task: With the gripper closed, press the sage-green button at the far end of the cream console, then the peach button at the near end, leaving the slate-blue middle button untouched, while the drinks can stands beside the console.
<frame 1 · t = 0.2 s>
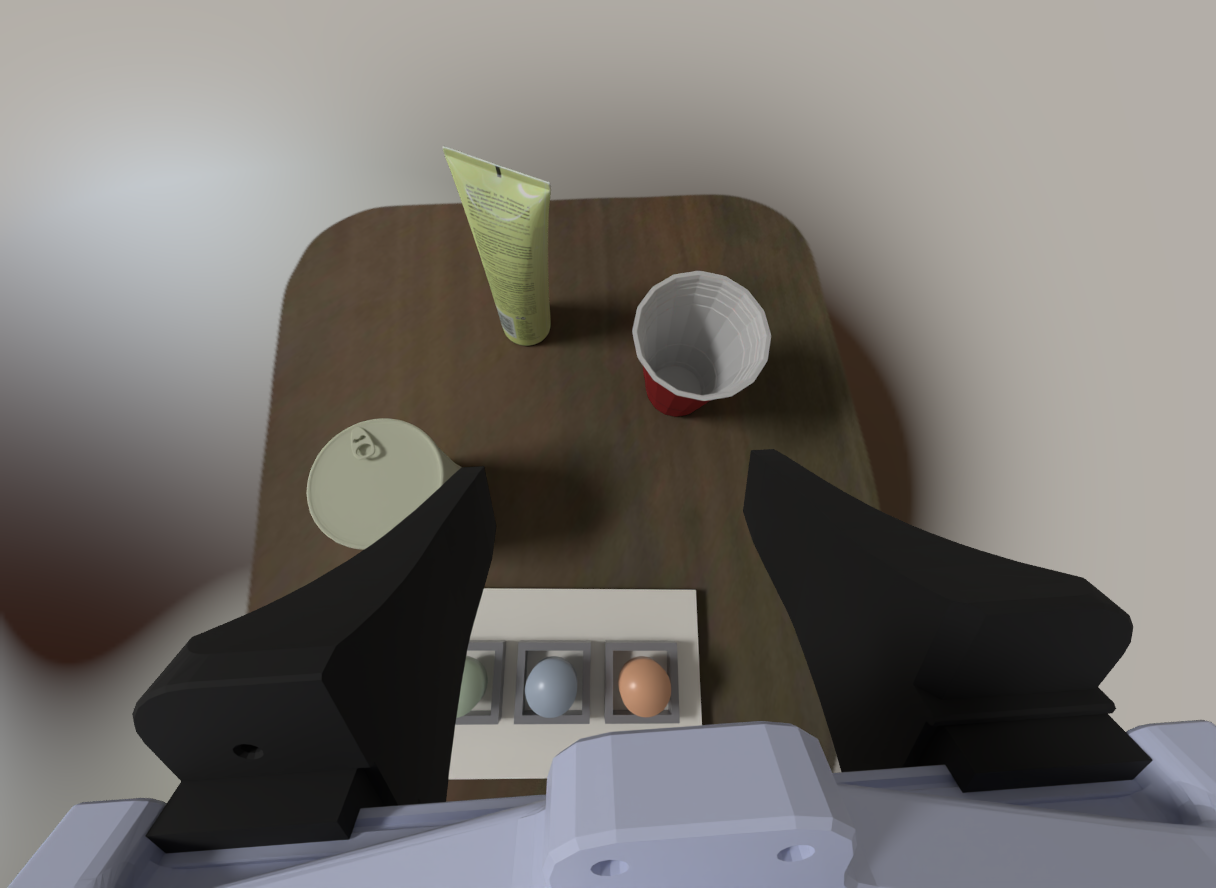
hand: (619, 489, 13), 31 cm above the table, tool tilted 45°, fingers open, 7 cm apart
peach button: (643, 685, 36), point 4 cm above the table, slide at 0.0 cm
sage button: (459, 685, 35), point 4 cm above the table, slide at 0.0 cm
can: (430, 508, 43), on the table
slate button: (552, 685, 36), point 4 cm above the table, slide at 0.0 cm
plastic cup: (674, 393, 47), on the table
console: (555, 676, 39), on the table
tube: (529, 327, 49), on the table
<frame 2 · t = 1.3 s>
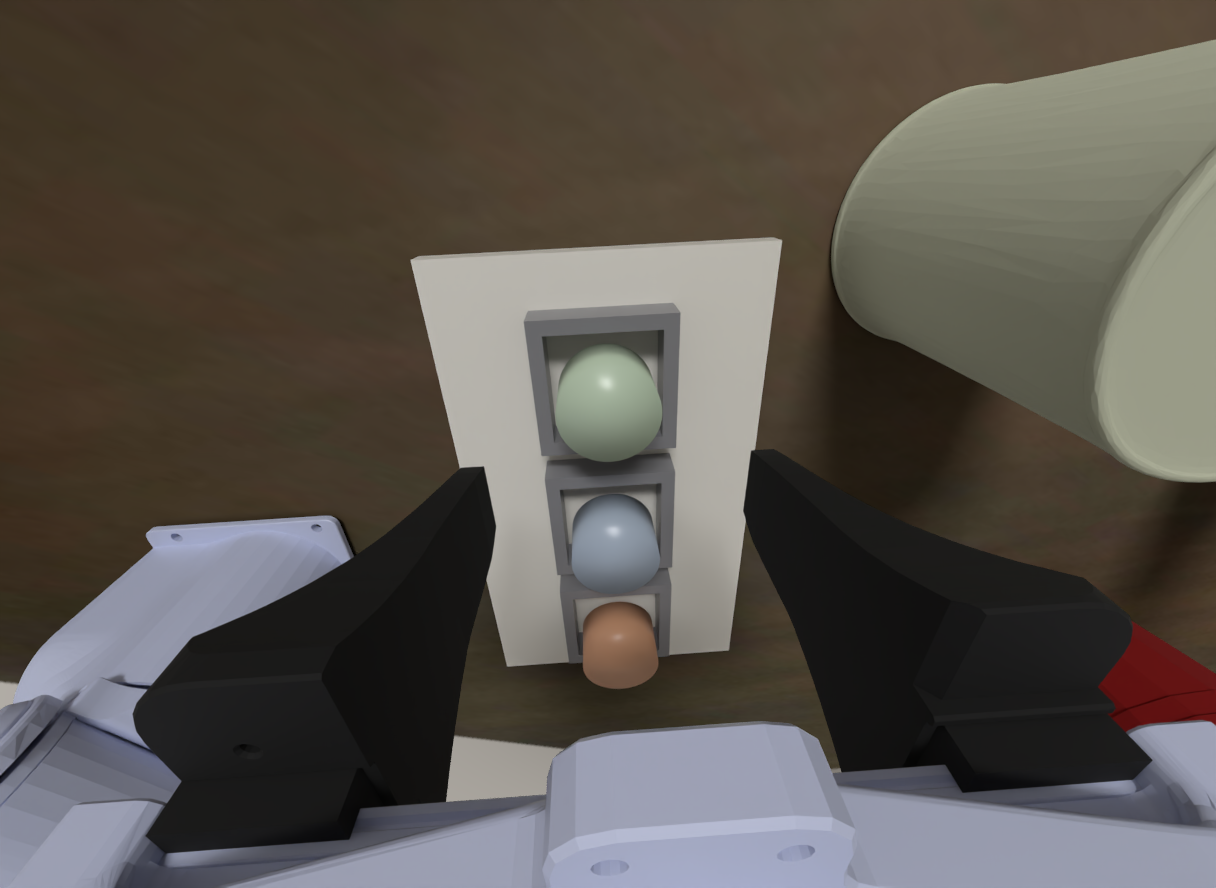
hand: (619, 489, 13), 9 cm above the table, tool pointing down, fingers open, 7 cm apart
peach button: (619, 645, 25), point 4 cm above the table, slide at 0.0 cm
sage button: (607, 402, 18), point 4 cm above the table, slide at 0.0 cm
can: (941, 227, 19), on the table
slate button: (614, 543, 21), point 4 cm above the table, slide at 0.0 cm
plastic cup: (1012, 603, 31), on the table
console: (609, 494, 24), on the table
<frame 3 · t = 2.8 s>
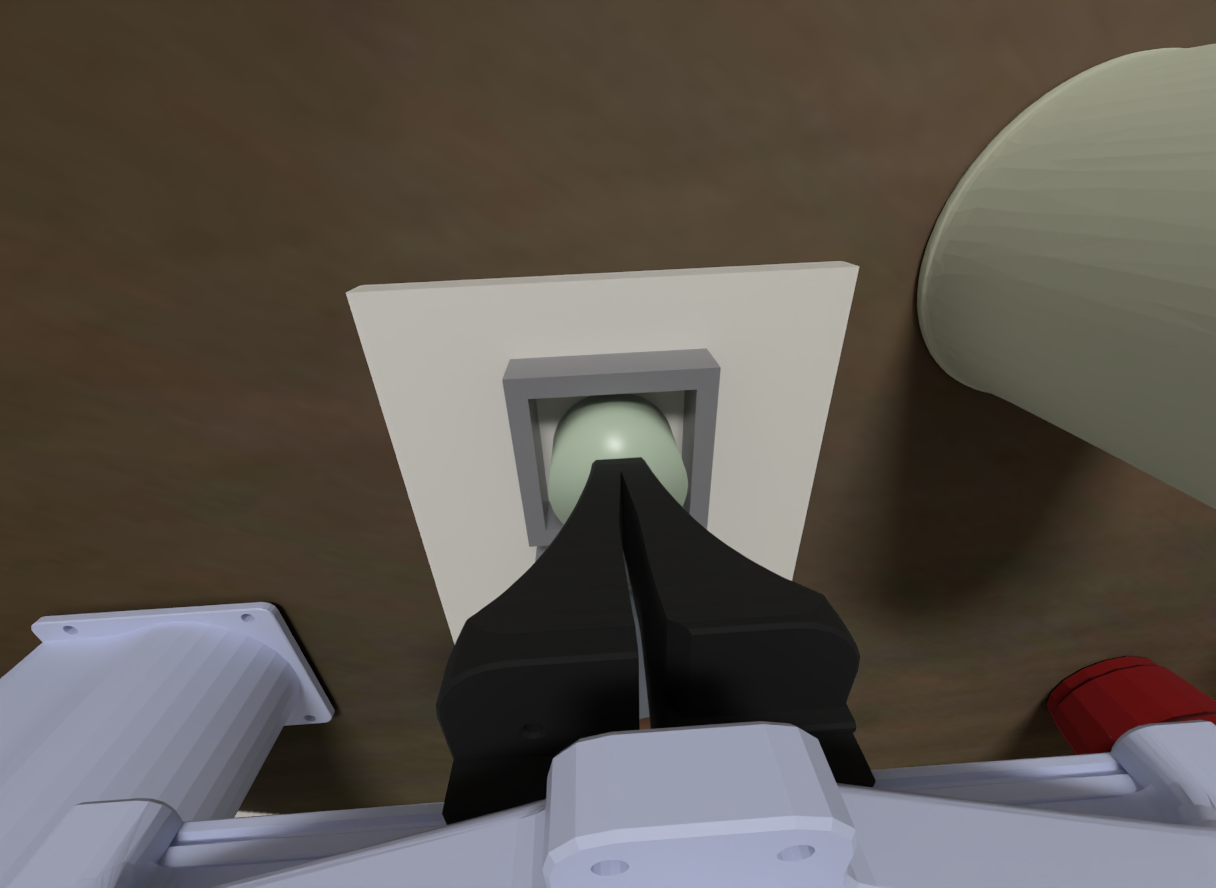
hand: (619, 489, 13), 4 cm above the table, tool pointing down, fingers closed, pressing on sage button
peach button: (627, 761, 20), point 4 cm above the table, slide at 0.0 cm
sage button: (615, 467, 14), point 3 cm above the table, slide at 1.1 cm, touching gripper
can: (1066, 248, 14), on the table
slate button: (624, 654, 16), point 4 cm above the table, slide at 0.0 cm
plastic cup: (1092, 685, 26), on the table
console: (616, 574, 20), on the table
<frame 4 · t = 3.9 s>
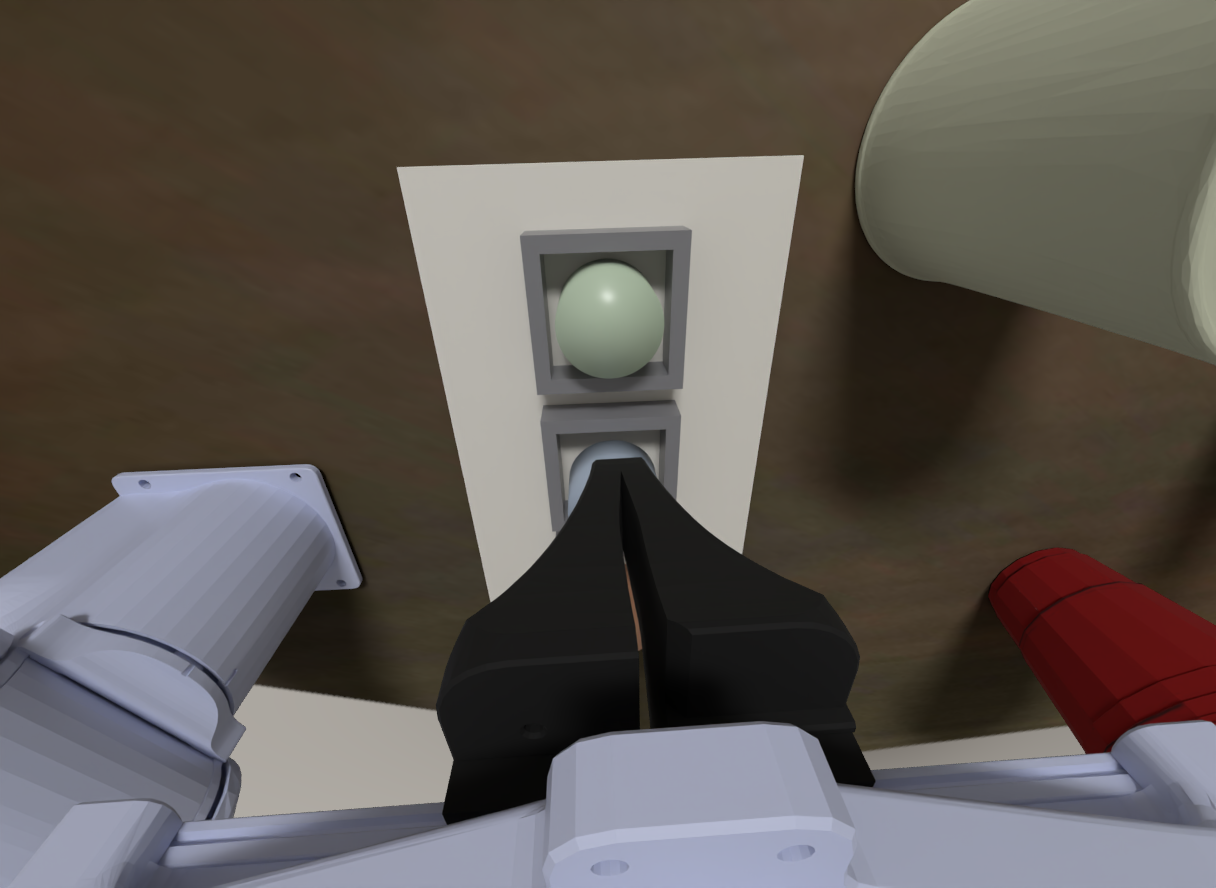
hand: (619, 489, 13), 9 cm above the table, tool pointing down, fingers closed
peach button: (616, 608, 23), point 4 cm above the table, slide at 0.0 cm
sage button: (608, 318, 17), point 2 cm above the table, slide at 1.3 cm
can: (975, 151, 18), on the table
slate button: (614, 493, 20), point 4 cm above the table, slide at 0.0 cm
plastic cup: (1029, 579, 29), on the table
console: (609, 447, 23), on the table
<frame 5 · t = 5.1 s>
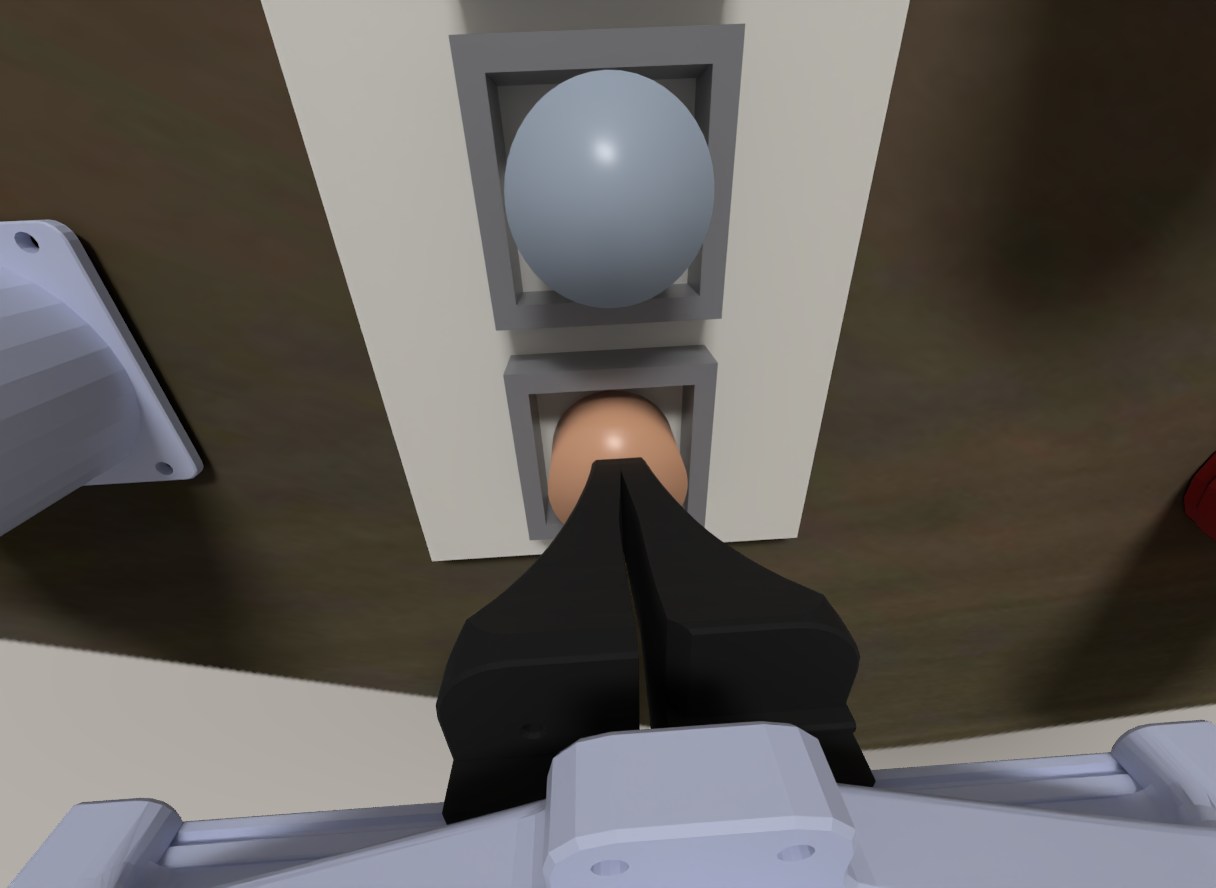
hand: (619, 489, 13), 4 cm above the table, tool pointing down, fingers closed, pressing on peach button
peach button: (615, 466, 14), point 3 cm above the table, slide at 0.9 cm, touching gripper
slate button: (607, 199, 10), point 4 cm above the table, slide at 0.0 cm
console: (600, 193, 13), on the table
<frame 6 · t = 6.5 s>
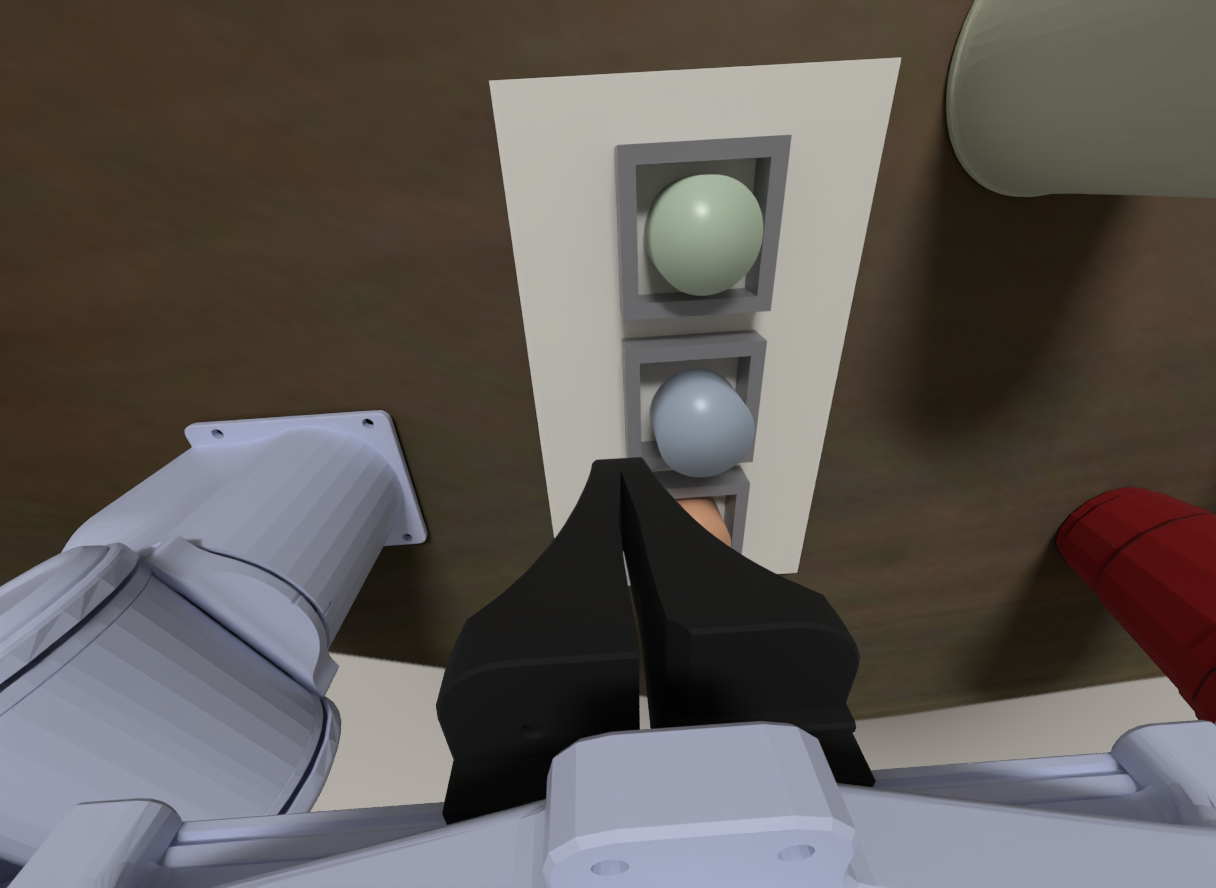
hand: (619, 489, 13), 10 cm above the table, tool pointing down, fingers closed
peach button: (687, 532, 24), point 2 cm above the table, slide at 1.3 cm
sage button: (700, 234, 17), point 2 cm above the table, slide at 1.3 cm
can: (1069, 54, 17), on the table
slate button: (699, 422, 19), point 4 cm above the table, slide at 0.0 cm
plastic cup: (1097, 522, 29), on the table
console: (682, 387, 23), on the table
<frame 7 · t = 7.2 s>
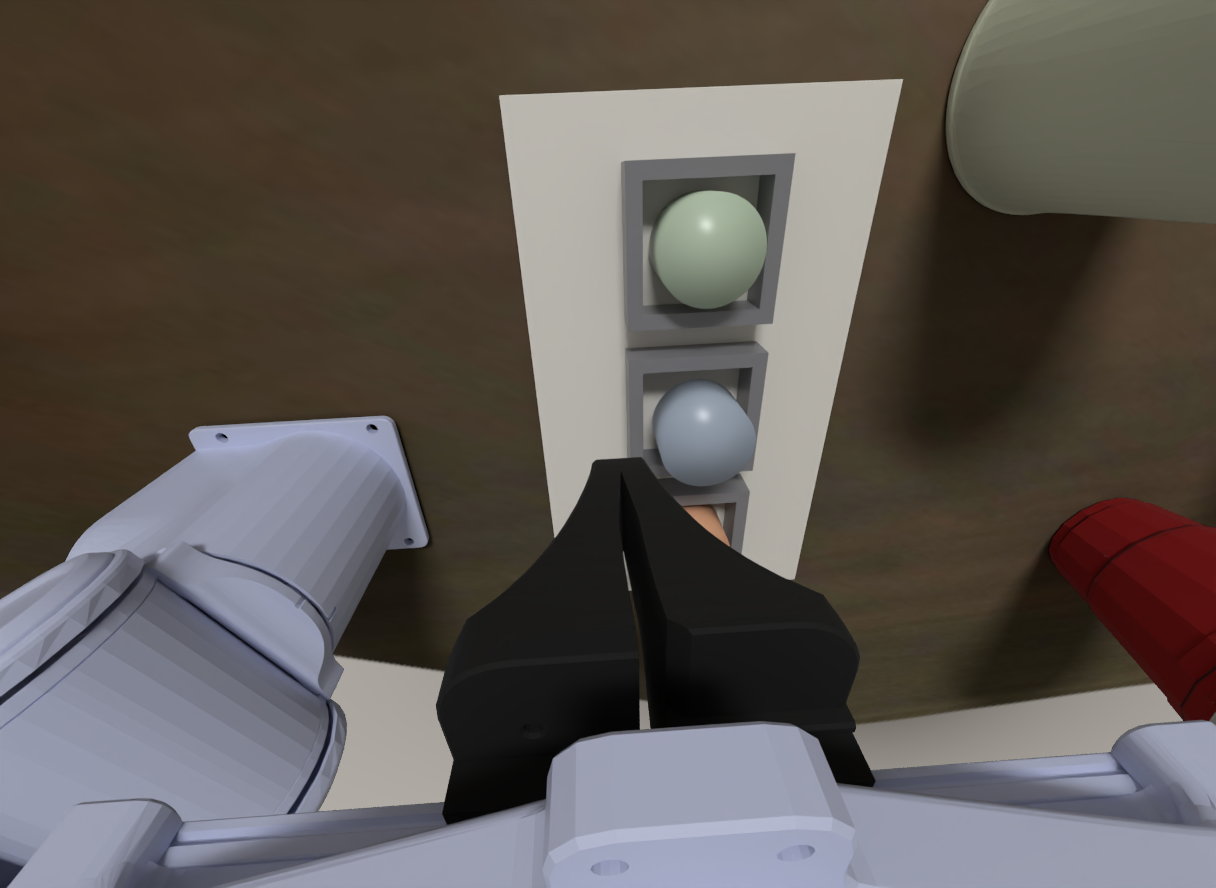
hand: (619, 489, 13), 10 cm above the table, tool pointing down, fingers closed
peach button: (687, 539, 24), point 2 cm above the table, slide at 1.3 cm
sage button: (704, 248, 17), point 2 cm above the table, slide at 1.3 cm
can: (1066, 77, 18), on the table
slate button: (701, 432, 20), point 4 cm above the table, slide at 0.0 cm
plastic cup: (1089, 532, 29), on the table
console: (683, 395, 23), on the table
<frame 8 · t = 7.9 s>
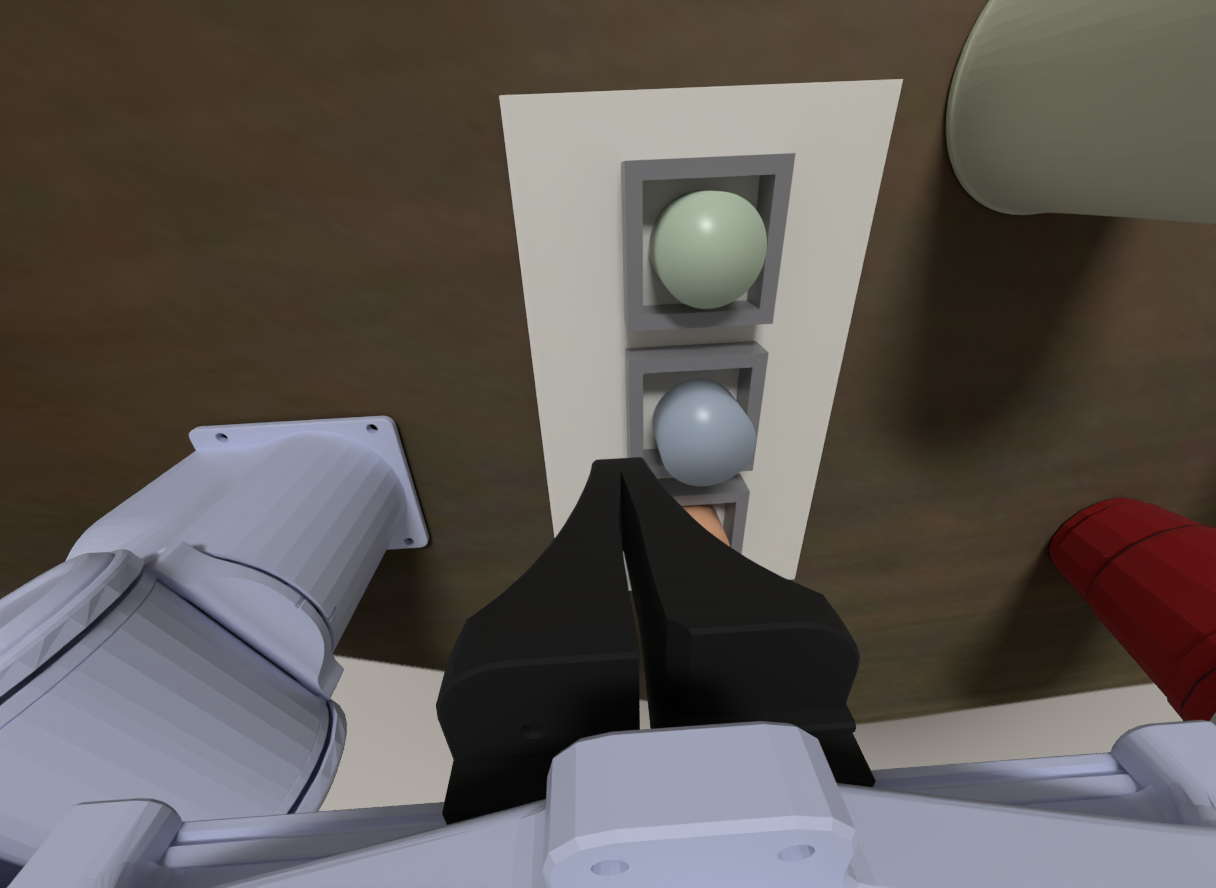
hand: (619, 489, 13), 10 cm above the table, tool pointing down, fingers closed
peach button: (687, 539, 24), point 2 cm above the table, slide at 1.3 cm
sage button: (704, 248, 17), point 2 cm above the table, slide at 1.3 cm
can: (1066, 77, 18), on the table
slate button: (701, 432, 20), point 4 cm above the table, slide at 0.0 cm
plastic cup: (1089, 532, 29), on the table
console: (683, 395, 23), on the table
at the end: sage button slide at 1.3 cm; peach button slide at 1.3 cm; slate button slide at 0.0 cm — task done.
